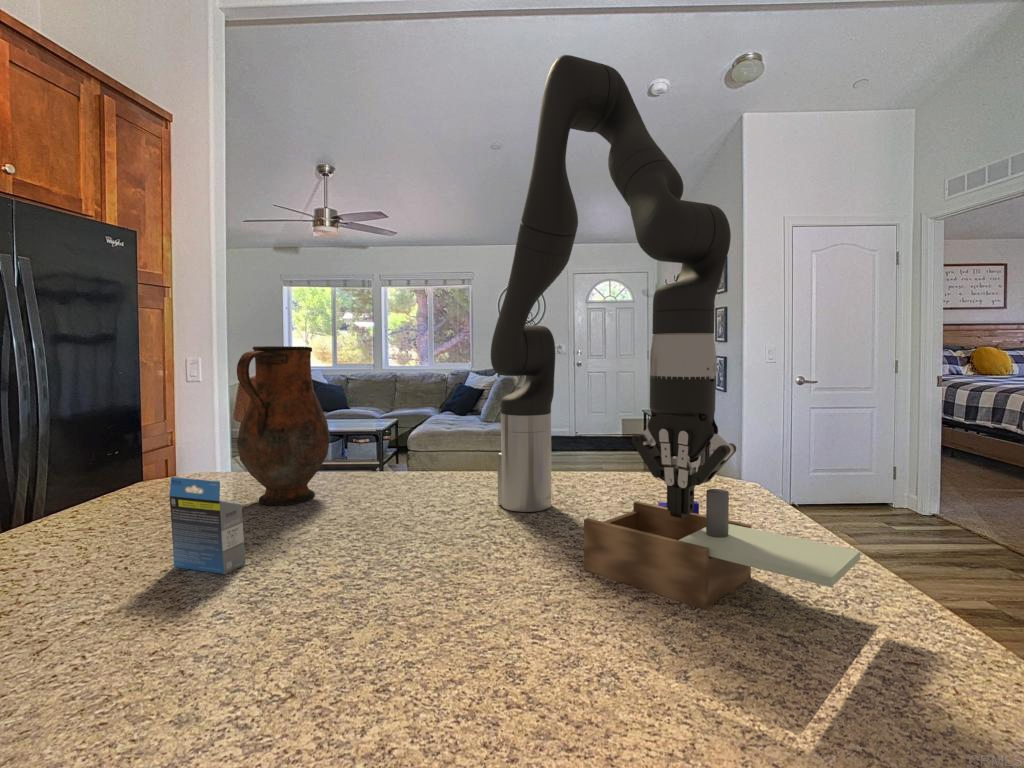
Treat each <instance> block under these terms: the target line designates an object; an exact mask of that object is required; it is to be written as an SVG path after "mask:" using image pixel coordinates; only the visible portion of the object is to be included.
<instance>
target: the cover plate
mask: <svg viewBox="0 0 1024 768" xmlns="http://www.w3.org/2000/svg"><path fill="white" fill-rule="evenodd" d="M729 499H730V491H729V490H727V489H726V490H725V489H722V488H707V489H706V502H705V505H706V512H705V513H706V514H705V515H706V527H705V528H703V529H701V530H699V531H697V532H695V533H692V534H690V535H688V536H686V537H684V538H682V539H680V540H679V541H683V542H687V543H691V544H695V545H699V546H704V547H708V548H709V556H711V557H715V558H718V559H722V560H726V561H730V562H734V563H738V564H742V565H746V566H750V567H751V568H754V569H758V570H762V571H764V572H770V573H773V574H778V575H781V576H785V577H789V578H792V579H793V578H794V579H797V580H801V581H805V582H808V583H813V584H815V585H816V584H817V585H820V586H823V587H824V586H825V587H828V588H833V587H834V586H835V585H836V584H837V583H838V582H839V581H840V580H841V579H842V577H844V576H845V575H846V574H847V573H848V572H850V570H851V569H852V568H854V566H856V565H857V563H859V562H860V560H861V550H855V549H851V548H846V547H842V546H838V545H837V546H836V545H833V544H828V543H825V542H824V543H823V542H819V541H812V540H809V539H804V538H799V537H794V536H789V535H784V534H779V533H775V532H771V531H766V530H760V529H757V528H752V527H751V528H747V527H742V526H737V525H733V524H729V520H730V519H729V518H730V516H729V515H730V513H729V512H730V511H729V510H730V509H729V508H730V503H729V502H730V500H729Z"/></svg>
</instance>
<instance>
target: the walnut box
mask: <svg viewBox="0 0 1024 768" xmlns="http://www.w3.org/2000/svg"><path fill="white" fill-rule="evenodd" d="M632 505H633V507H632V508H633V511H630V512H625V513H624V514H622V515H619V516H616V517H613V518H611V519H607V520H605V521H601V520H597V519H593V518H589V517H588V518H583V570H584V571H586V572H588V573H593V574H595V575H597V576H601V577H604V578H608V579H611V580H614V581H616V582H620V583H622V584H626V585H628V586H632V587H635V588H638V589H641V590H644V591H646V592H649V593H653V594H656V595H659V596H663V597H666V598H668V599H671V600H675V601H677V602H681V603H683V604H686V605H690V606H691V607H692V606H693V607H696V608H699V609H701V610H703V611H704V610H706V609H707V608H709V607H711V606H712V605H713V604H715V603H716V602H717V601H719V600H720V599H722V598H723V597H725V596H726V595H727V594H729V593H731V592H732V591H733V590H735V589H736V588H738V587H740V585H742V584H744V583H745V582H746V581H748V580H749V579H751V578H752V577H751V576H752V567H750V566H746V565H742V564H738V563H734V562H730V561H726V560H722V559H718V558H715V557H711V556H709V548H708V547H704V546H699V545H695V544H691V543H687V542H683V541H679V540H680V539H682V538H684V537H686V536H688V535H690V534H692V533H695V532H697V531H699V530H701V529H703V528H705V527H706V514H705V515H704V514H700V513H699V514H696V513H690V514H689V516H688V517H685V518H683V519H682V518H678V517H673V516H671V515H670V511H668V508H667V507H662V506H658V505H656V504H651V503H648V502H647V503H646V502H641V501H634V502H633V504H632ZM729 524H733V525H737V526H742V527H747V528H752V524H749V523H745V522H739V521H734V520H730V519H729Z"/></svg>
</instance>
